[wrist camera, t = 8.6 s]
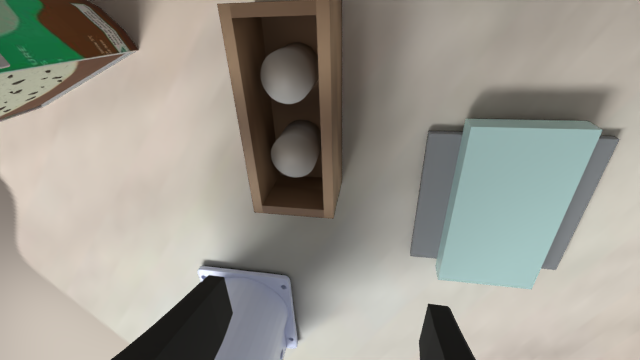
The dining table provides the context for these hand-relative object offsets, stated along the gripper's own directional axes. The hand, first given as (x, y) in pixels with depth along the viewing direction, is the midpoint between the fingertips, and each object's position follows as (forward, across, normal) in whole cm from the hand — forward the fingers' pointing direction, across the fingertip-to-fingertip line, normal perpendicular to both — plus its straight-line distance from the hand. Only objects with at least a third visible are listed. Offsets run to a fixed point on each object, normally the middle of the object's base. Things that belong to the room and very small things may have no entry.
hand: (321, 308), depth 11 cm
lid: (+10, -9, +1) cm, 13 cm away
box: (+10, +3, -4) cm, 11 cm away
